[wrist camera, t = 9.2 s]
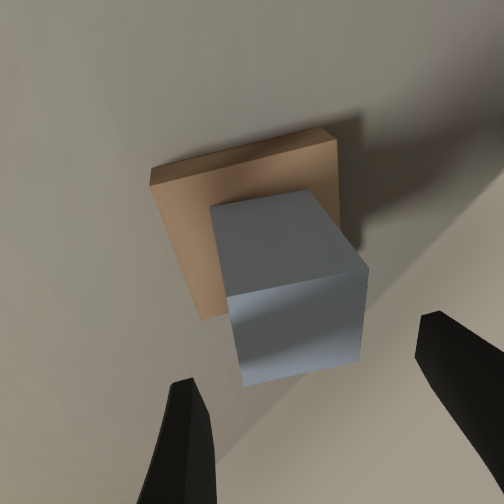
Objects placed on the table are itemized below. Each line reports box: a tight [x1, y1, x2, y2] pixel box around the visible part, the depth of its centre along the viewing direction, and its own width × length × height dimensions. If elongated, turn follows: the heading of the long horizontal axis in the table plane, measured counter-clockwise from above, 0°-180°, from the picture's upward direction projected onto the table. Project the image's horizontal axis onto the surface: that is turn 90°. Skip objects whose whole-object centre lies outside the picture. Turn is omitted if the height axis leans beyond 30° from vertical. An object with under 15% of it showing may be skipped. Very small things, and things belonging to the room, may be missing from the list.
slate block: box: [209, 189, 369, 387], centre depth 15 cm, size 4×4×6 cm
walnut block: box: [149, 126, 341, 320], centre depth 18 cm, size 8×8×2 cm
